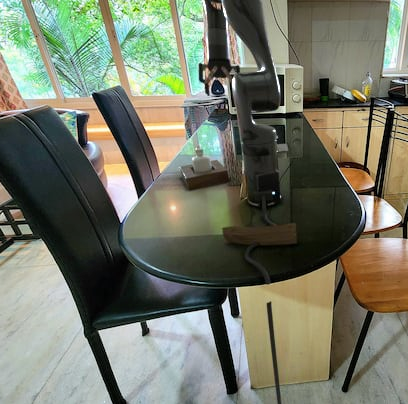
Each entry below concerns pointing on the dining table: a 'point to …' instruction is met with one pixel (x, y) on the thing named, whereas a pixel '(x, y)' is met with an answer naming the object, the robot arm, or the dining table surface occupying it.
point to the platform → (282, 147)
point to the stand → (204, 175)
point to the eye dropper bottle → (201, 161)
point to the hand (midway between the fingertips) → (221, 96)
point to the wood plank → (262, 234)
